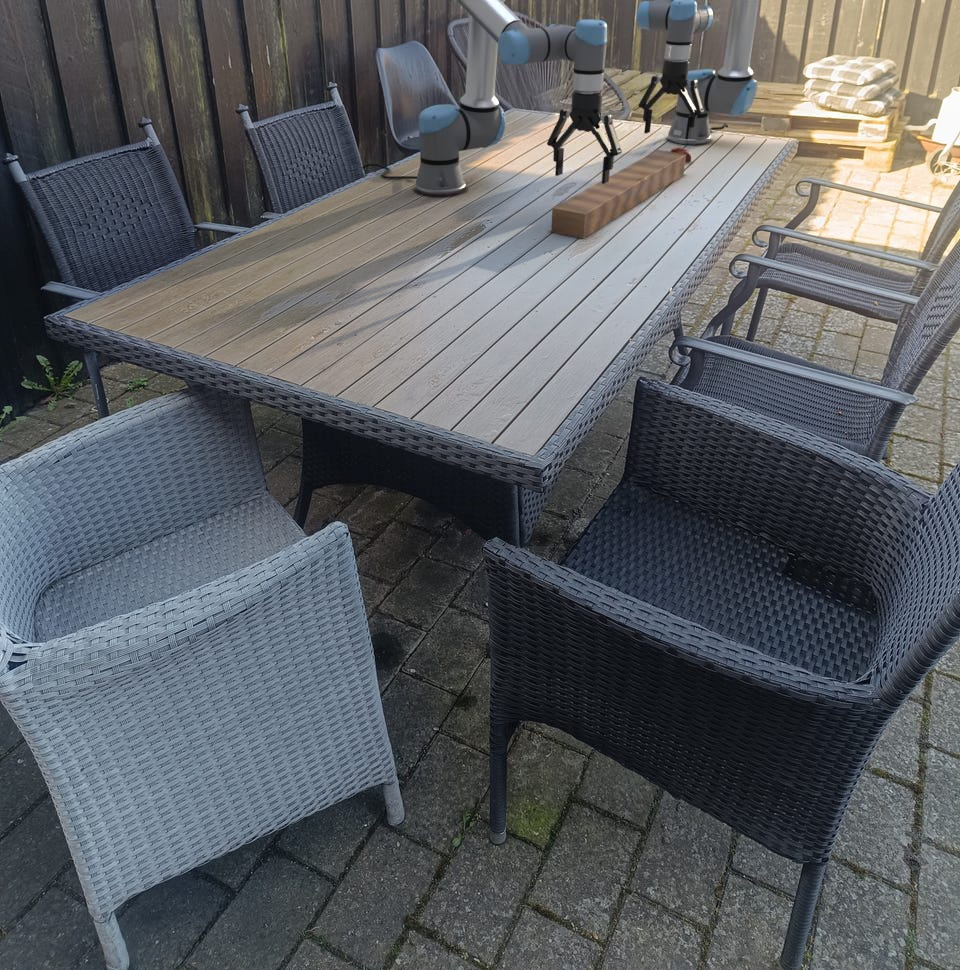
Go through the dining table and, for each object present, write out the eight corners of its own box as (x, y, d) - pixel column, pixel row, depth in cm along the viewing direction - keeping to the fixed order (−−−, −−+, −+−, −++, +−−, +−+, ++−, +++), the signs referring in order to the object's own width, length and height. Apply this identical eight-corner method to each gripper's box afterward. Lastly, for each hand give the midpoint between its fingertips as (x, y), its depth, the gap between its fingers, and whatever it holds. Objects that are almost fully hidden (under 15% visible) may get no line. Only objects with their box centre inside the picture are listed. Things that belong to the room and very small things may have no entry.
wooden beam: (583, 238, 223) (585, 214, 219) (551, 231, 227) (552, 207, 224) (683, 175, 271) (686, 154, 268) (655, 170, 276) (657, 149, 272)
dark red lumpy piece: (683, 144, 286) (693, 150, 280) (681, 156, 289) (692, 163, 282) (667, 145, 285) (678, 152, 279) (666, 158, 288) (676, 165, 281)
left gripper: (640, 93, 207) (631, 182, 219) (550, 83, 218) (547, 168, 230) (627, 99, 201) (619, 189, 214) (536, 88, 212) (533, 174, 225)
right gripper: (721, 62, 247) (710, 138, 259) (643, 54, 258) (635, 127, 270) (712, 65, 242) (701, 143, 254) (632, 57, 252) (625, 132, 265)
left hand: (581, 178), depth 222 cm, fingers open, 13 cm apart
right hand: (667, 135), depth 262 cm, fingers open, 13 cm apart
